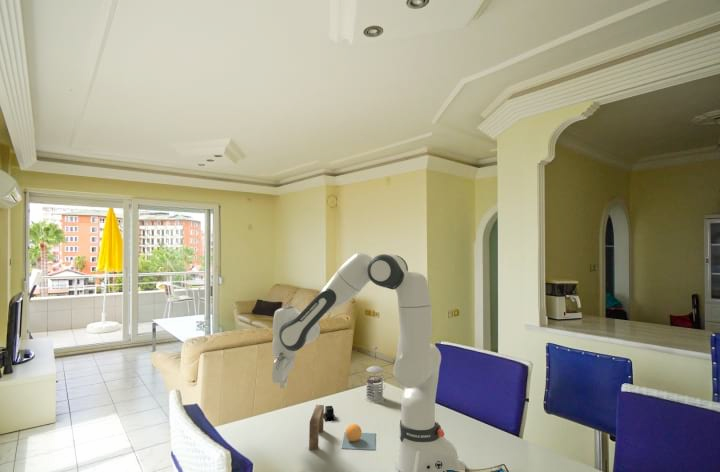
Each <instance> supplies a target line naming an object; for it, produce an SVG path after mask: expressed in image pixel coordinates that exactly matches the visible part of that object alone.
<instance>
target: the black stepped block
mask: <svg viewBox="0 0 720 472" xmlns="http://www.w3.org/2000/svg"><path fill="white" fill-rule="evenodd" d="M334 412H335V410H334V407H333V405H324V422H326V423H327V422H337V418H336V416H335V413H334Z"/></svg>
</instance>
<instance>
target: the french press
mask: <svg viewBox="0 0 720 472" xmlns="http://www.w3.org/2000/svg"><path fill="white" fill-rule="evenodd" d="M372 348H373V349H374V350H377V349H378V346H376V345H374V346H373V347H372ZM365 370H366V372H368V373H370V374H381V373H382V372H383V371H384V369H383V368H382V367H380V366H378V365H372V366H369V367H367V368H366V369H365ZM383 379H384V380H383ZM384 381H386V379H385V377H384V375H383V374H381V375H370V376H367V380H366V391H365V392H366V394H365V397H364V398H363V399H364V401H366V403H367V402H368V403H371V404H376V403H377V404H378V403H382V402H384V401H385V397H384V396H383V395H384V394H383V393H384V392H383V391H384V390H385V388H386V386H384Z"/></svg>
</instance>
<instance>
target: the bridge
mask: <svg viewBox="0 0 720 472" xmlns="http://www.w3.org/2000/svg"><path fill="white" fill-rule="evenodd" d="M324 413H325V405H324V404H316V405H315V408H314V409H313V412H312V415H311V416H310V417H311V418H310V420H309V427H308V428H309V429H308V430H309V432H308V433H309V434H308V436H309V437H308V440H309V441H308V443H309V444H308V450H309V451H318V449H319V433H323V432H324V422H325V420H324Z"/></svg>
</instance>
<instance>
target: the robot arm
mask: <svg viewBox="0 0 720 472" xmlns="http://www.w3.org/2000/svg"><path fill="white" fill-rule="evenodd" d="M369 282H372V283H373V284H375V285H376V286H379V287H382V288H385V289H386V288H387V289H389V290H395V291H396V295H397V296H396V297H397V305H398V307H397V308H398V324H399V325H398V327H399V329H398V330H399V331H398V332H399V333H398V339H397V340H398V342H397V348H396V349H397V350H396V358H395V362H394V364H393V367H392V374H393V377H394V379H395V381H396V383H398V384H399V385H400V386H401V387H403V388H404V389H403V392H402V395H401V405H400V406H401V408H400V409H401V411H400V412H401V416H400V417H401V419H400V421H399V440H400V441H399V447H398V452H397V453H398V454H397V458H396V460H395V467H396V469H397V470H398V471H399V472H443V471H446V470H459V469H466V466H465V463H464V461H463V460H462V459H461V458H460V456H458V452H457V449H456V446H455V445H454V444H453V443H452V442H451V441H450V440H449V439H448V438H446V437H445V432H444V430H443V429H442V427H441V425H440V424H439V422H438V421H436V398H437V397H436V396H437V390H438V383H439V376H440V374H439V373H440V366H441V362H442V354H441V351H440V350H439V348H438V346H437V345H435V344H433V343H431V339H432V333H433V329H434V328H433V327H434V325H433V314H432V313H433V311H432V299H431V293H430V286H429V284H428V280H427V278H426V276H424V274H422V273H419V272H415V271H414V272H413V271H409V267H408V264H407V261H406V260H405V259H404V258H403V257H401V256H399V255H396V254H392V253H384V254H378V255H375V256H374V257H373V258H372V257H371V256H370V255H369V254H367V253H365V252H362V251H361V252H357V253H355V254H353V255H352V256H350V258H348V259H347V260H346V261H345V262H343V264H342V265H341V266H340V267H339V268H337V270H336V272H334V274H333V275H332V276H331V278H330V279H329V281H327V283H326V284H325V285H324V287H323V288H322V290H321V291H319V293H318V294H317V295H316V297H315V298H314V299H312V301H311V302H309V304H308V305H307V306H306V307H305V308H304V309H303V310H302V311H301V312H300V311H299V310H298V309H297V308H296V307H295V306H291V305H290V306H283V307H279V308H278V309H276V310H275V311H274V314H273V320H272V333H273V339H272V342H271V343H272V345H271V346H272V347H271V355H272V356H273V357H275V359H274V361H273V363H272V372H271V373H272V374H271V381H272V383H275V384H279V388H280V389H284V388H285V387H286V386H287V383H288V376H289V373H290V372H291V370H292V369H293V368H294V365H295V359H296V354H297V351H298V350H300V349H301V348H302V347H304V346H306V345H308V344H310V343H312V342H314V341H315V340H316V339H317V338H319V337H320V334H321V331H322V330H321V325H320V322H319V321H320V320H321V319H322V318H323V317H324V316H325V315H326V314H327V313H329V312H330V311H332V310H334V309H335V308H339V307H340V306H342V305H344V304H346V303H348V302H350V301H351V300H353V299H354V297H356V296H357V295H358V294H359V293H360V292H361V291H362V290H363V288H364V287H366V285H367V284H368V283H369Z"/></svg>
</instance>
